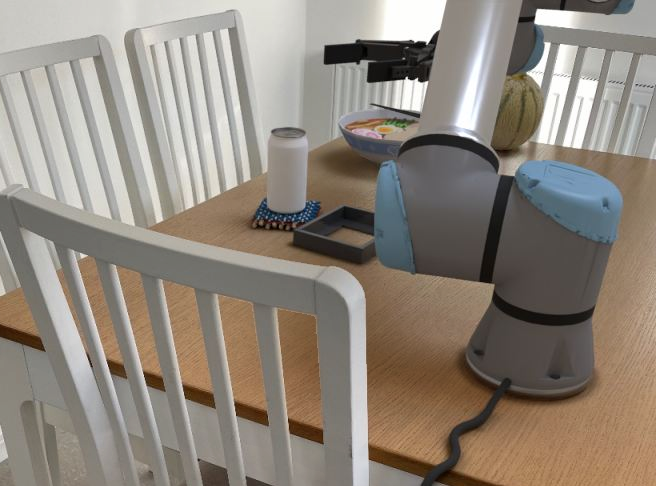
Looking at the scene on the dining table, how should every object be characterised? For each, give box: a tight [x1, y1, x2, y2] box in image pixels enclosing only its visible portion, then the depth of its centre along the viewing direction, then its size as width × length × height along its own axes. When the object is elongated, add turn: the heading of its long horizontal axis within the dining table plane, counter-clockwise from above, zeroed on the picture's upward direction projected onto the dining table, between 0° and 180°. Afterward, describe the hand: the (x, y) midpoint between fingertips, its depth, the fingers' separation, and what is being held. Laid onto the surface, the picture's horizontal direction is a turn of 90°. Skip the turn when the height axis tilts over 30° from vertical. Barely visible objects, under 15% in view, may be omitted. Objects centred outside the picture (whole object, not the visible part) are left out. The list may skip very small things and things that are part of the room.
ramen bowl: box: [337, 102, 422, 167], centre depth 162 cm, size 25×23×8 cm
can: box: [266, 126, 309, 214], centre depth 134 cm, size 6×6×12 cm
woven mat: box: [251, 196, 322, 231], centre depth 139 cm, size 10×11×2 cm
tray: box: [292, 203, 377, 265], centre depth 132 cm, size 15×13×2 cm
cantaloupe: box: [490, 72, 545, 151], centre depth 168 cm, size 15×15×15 cm
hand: (345, 63), depth 128 cm, fingers open, 13 cm apart
